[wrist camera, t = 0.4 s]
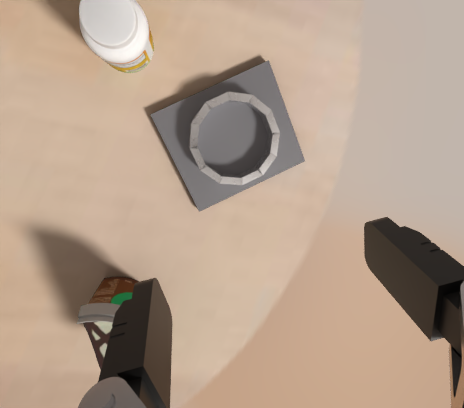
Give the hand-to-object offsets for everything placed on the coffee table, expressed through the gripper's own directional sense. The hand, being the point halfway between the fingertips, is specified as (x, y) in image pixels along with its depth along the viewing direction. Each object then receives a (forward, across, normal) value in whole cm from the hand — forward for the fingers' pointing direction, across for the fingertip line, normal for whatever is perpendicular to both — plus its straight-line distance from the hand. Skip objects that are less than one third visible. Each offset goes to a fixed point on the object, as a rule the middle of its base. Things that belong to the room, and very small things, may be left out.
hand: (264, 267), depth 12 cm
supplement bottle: (+28, +6, -9) cm, 30 cm away
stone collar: (+26, -2, +3) cm, 26 cm away
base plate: (+26, -2, +3) cm, 26 cm away
